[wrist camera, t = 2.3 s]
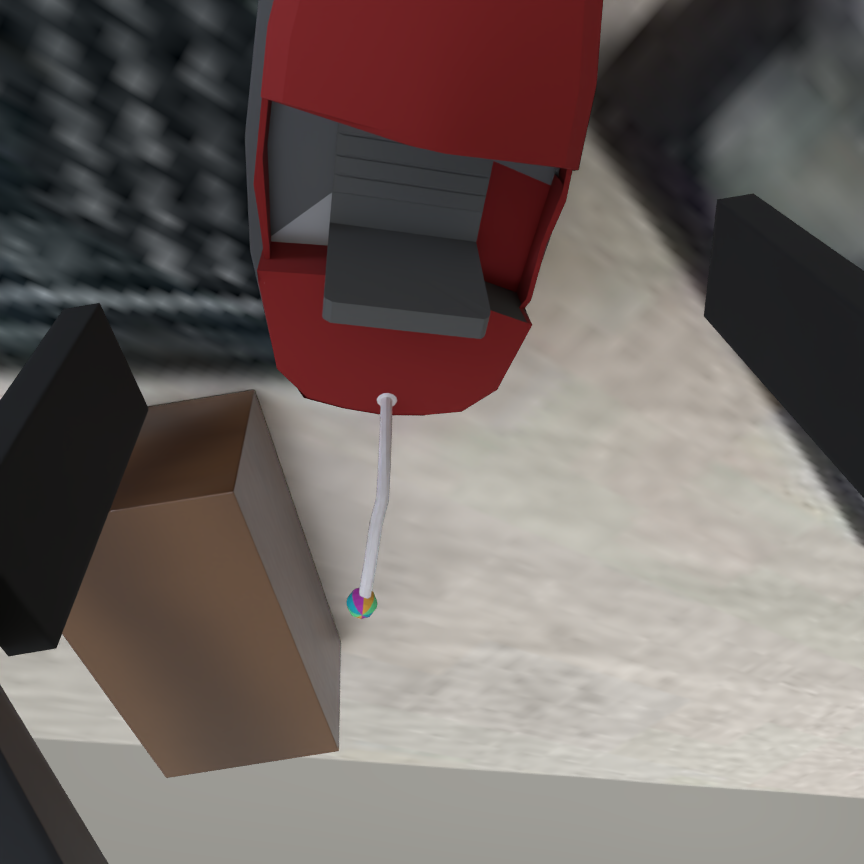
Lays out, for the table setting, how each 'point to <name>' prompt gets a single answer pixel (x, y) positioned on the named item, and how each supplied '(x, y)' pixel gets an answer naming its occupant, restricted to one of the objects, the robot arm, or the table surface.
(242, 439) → the walnut block
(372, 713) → the table surface
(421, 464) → the table surface
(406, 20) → the bumper car
